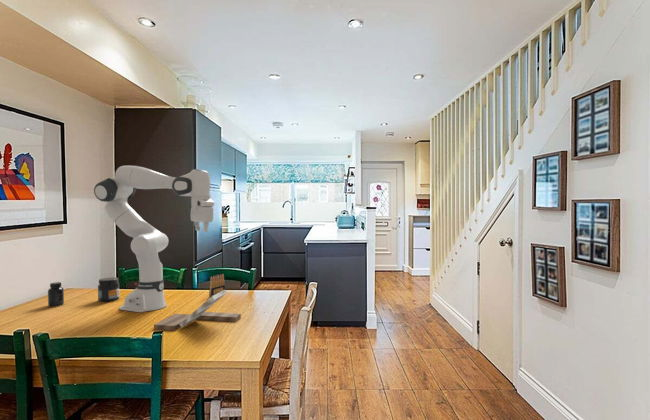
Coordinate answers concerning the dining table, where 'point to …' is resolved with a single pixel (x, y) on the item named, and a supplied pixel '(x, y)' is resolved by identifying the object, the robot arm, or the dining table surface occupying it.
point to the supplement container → (108, 289)
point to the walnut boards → (176, 319)
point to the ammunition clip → (216, 285)
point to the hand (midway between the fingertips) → (201, 231)
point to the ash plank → (203, 308)
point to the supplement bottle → (55, 294)
